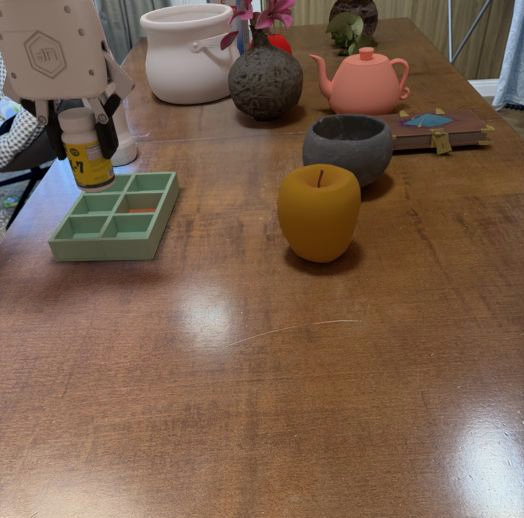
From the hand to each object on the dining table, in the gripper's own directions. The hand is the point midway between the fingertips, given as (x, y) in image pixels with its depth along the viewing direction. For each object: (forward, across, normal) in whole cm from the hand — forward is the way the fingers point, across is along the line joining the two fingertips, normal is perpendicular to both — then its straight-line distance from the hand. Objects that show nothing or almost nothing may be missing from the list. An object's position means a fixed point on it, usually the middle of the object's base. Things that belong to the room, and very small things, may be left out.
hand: (88, 153), depth 59 cm
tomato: (+18, +15, +95) cm, 98 cm away
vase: (+18, +15, +62) cm, 66 cm away
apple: (+18, +27, +5) cm, 33 cm away
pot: (+18, -4, +83) cm, 85 cm away
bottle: (+18, -13, +42) cm, 47 cm away
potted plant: (+18, +37, +114) cm, 121 cm away
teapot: (+18, +36, +64) cm, 75 cm away
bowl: (+18, +32, +27) cm, 46 cm away
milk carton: (+18, +1, +113) cm, 114 cm away
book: (+18, +47, +46) cm, 68 cm away
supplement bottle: (+4, 0, 0) cm, 4 cm away
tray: (+18, -5, +16) cm, 24 cm away
